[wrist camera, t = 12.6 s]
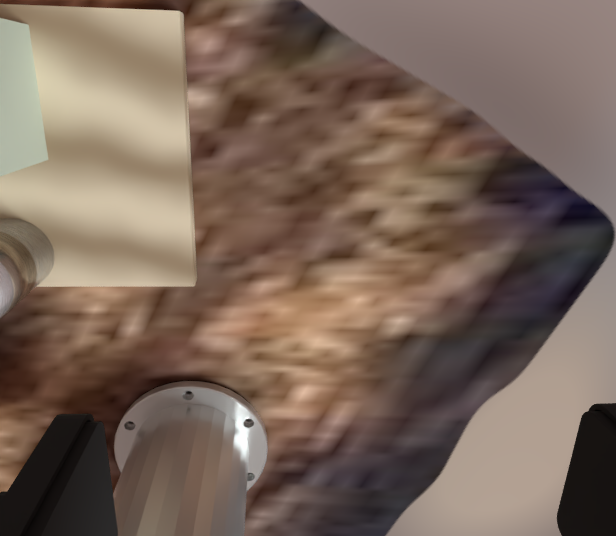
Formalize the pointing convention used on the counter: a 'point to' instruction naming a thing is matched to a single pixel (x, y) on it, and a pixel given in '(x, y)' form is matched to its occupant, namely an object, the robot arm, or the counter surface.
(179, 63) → the shelf board
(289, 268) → the counter surface
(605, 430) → the robot arm
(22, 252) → the metal tin
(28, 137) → the carton
